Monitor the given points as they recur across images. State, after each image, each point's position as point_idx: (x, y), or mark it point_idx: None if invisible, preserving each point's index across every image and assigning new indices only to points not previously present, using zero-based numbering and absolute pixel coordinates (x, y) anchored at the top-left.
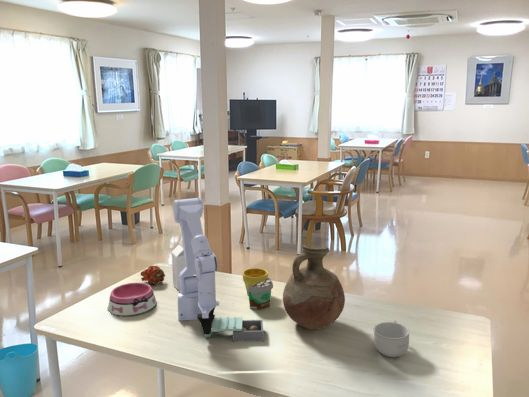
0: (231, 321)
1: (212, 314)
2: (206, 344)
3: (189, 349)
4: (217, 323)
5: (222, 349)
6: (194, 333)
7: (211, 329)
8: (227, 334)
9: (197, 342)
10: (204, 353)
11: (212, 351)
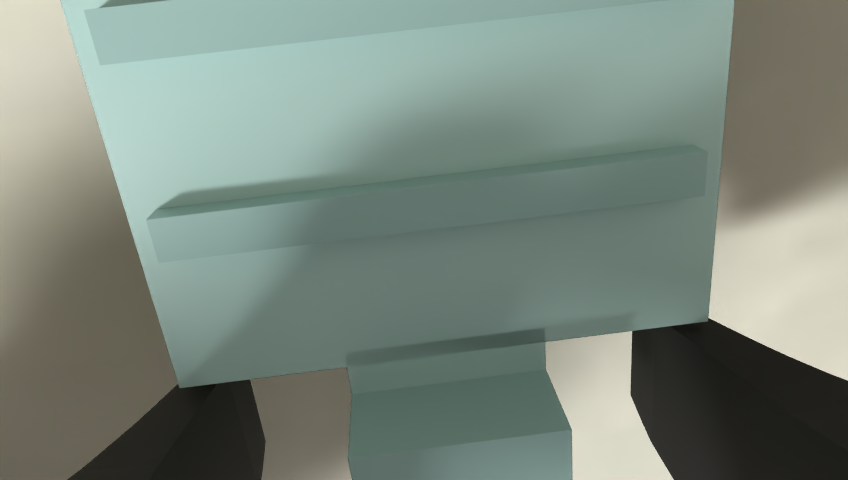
0: None
1: (176, 464)
2: None
3: None
4: (440, 249)
5: (778, 15)
6: (339, 468)
7: (706, 317)
8: None
9: (562, 387)
10: (839, 249)
11: (809, 156)
